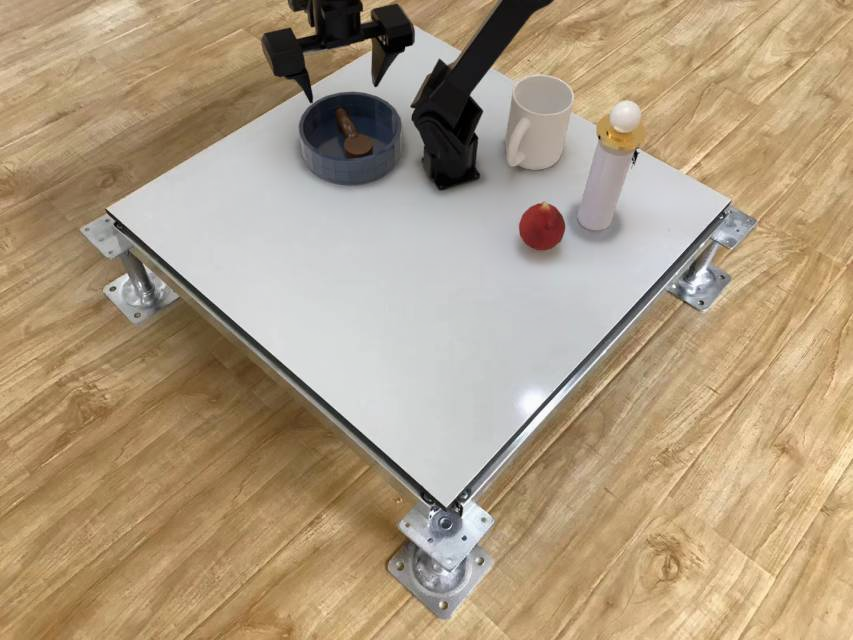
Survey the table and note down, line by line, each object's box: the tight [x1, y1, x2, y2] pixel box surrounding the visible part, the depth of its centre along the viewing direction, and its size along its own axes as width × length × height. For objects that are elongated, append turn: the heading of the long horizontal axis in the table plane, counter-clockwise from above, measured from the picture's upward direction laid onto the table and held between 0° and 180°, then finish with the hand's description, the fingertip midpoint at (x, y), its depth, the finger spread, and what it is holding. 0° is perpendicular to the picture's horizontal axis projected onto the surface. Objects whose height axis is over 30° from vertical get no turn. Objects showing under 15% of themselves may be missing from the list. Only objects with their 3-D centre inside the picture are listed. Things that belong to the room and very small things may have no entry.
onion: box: [518, 201, 566, 252], centre depth 98 cm, size 6×6×8 cm
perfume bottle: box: [576, 99, 647, 231], centre depth 95 cm, size 6×6×20 cm
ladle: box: [335, 108, 373, 159], centre depth 108 cm, size 10×4×3 cm, turn 23°
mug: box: [504, 74, 575, 171], centre depth 106 cm, size 12×8×10 cm
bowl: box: [298, 91, 403, 186], centre depth 108 cm, size 14×14×4 cm
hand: (342, 93), depth 104 cm, fingers open, 9 cm apart
